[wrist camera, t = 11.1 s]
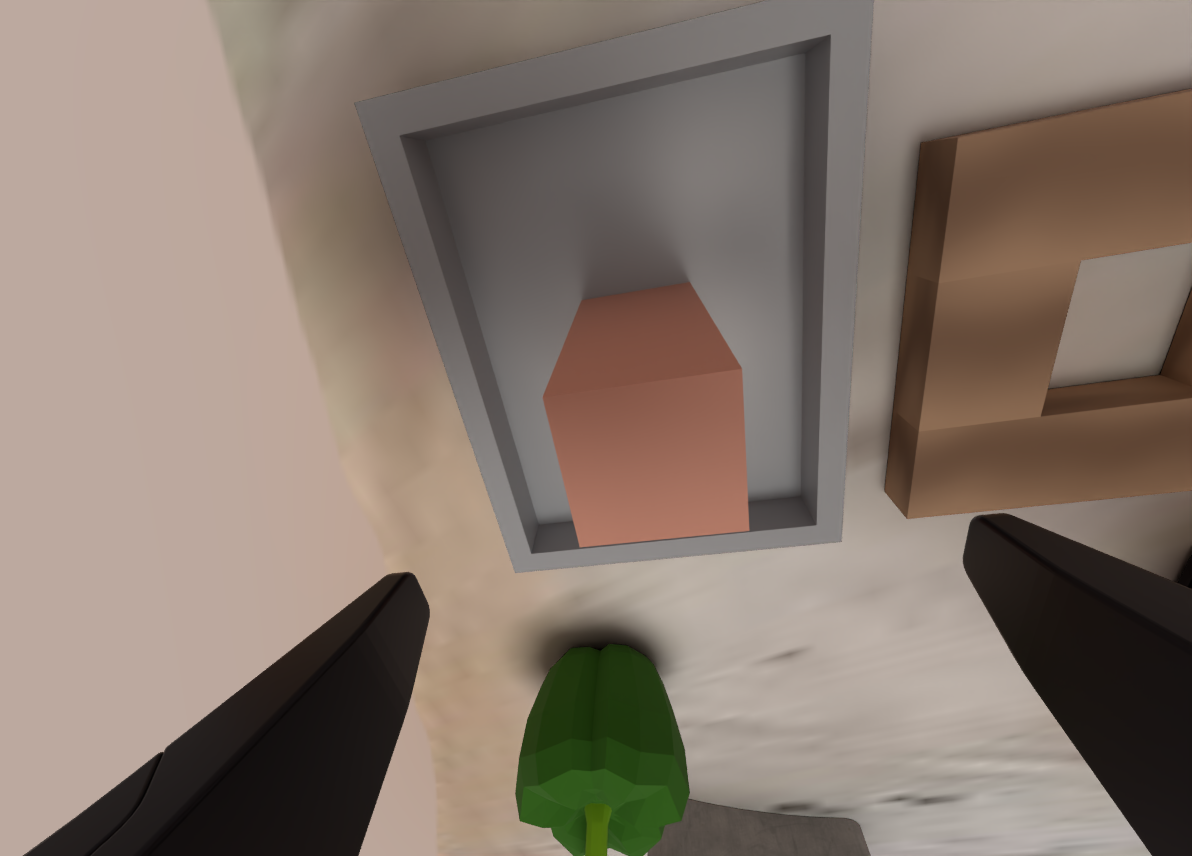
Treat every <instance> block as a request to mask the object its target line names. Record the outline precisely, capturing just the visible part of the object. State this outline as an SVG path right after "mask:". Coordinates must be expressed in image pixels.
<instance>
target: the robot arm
mask: <svg viewBox="0 0 1192 856" xmlns="http://www.w3.org/2000/svg"><path fill="white" fill-rule="evenodd" d="M963 564H964V568H965V571H966V573H967V575H968V577H969V579H970V581H971V583H972V584H973V586H974V588H975V590H976V591H977V593H978V595H979V597H980V598H981V600H982V602H983V604H984V605H985V607H986V609H987V611H988V612H989V614H990V616H991V618H992V619H993V621H994V623H995V625H996V627H997V628H998V630H999V632H1000V634H1001V635H1002V637H1003V639H1004V641H1005V642H1006V644H1007V646H1008V648H1009V649H1010V651H1011V653H1012V655H1013V656H1014V658H1015V660H1016V661H1017V663H1018V665H1019V666H1020V668H1021V670H1022V671H1023V673H1024V674H1025V676H1026V677H1027V679H1028V680H1029V682H1030V683H1031V684H1032V686H1033V687H1034V689H1035V690H1036V692H1037V693H1038V695H1039V696H1040V697H1041V699H1042V700H1043V702H1044V703H1045V705H1046V706H1047V707H1048V709H1049V710H1050V712H1051V713H1052V714H1053V716H1054V717H1055V719H1056V720H1057V722H1058V723H1059V724H1060V726H1061V727H1062V729H1063V730H1064V731H1065V733H1066V734H1067V736H1068V737H1069V739H1070V740H1071V741H1072V743H1073V744H1074V746H1075V747H1076V749H1077V750H1078V751H1079V753H1080V754H1081V756H1082V757H1083V758H1084V760H1085V761H1086V763H1087V764H1088V766H1089V767H1090V768H1091V770H1092V771H1093V773H1094V774H1095V775H1096V777H1097V778H1098V780H1099V781H1100V783H1101V784H1102V785H1103V787H1104V788H1105V790H1106V791H1107V792H1108V794H1109V795H1110V797H1111V798H1112V800H1113V801H1114V802H1115V804H1116V805H1117V807H1118V808H1119V809H1120V811H1121V812H1122V814H1123V815H1124V817H1125V818H1126V819H1127V821H1128V822H1129V824H1130V825H1131V827H1132V828H1133V829H1134V831H1135V832H1136V834H1137V835H1138V836H1139V838H1140V839H1141V841H1142V842H1143V844H1144V845H1145V846H1146V848H1147V849H1148V851H1149V852H1150V853H1151V855H1152V856H1192V555H1191V557H1190V559H1189V561H1188V563H1187V565H1186V567H1185V569H1184V572H1183V574H1182V576H1181V578H1180V580H1179V582H1178V583H1176V582H1173V581H1171V580H1169V579H1166V578H1164V577H1161V576H1159V575H1156V574H1154V573H1152V572H1149V571H1147V570H1144V569H1142V568H1139V567H1137V566H1134V565H1132V564H1130V563H1127V562H1125V561H1122V560H1120V559H1117V558H1115V557H1112V556H1110V555H1108V554H1105V553H1103V552H1100V551H1098V550H1095V549H1093V548H1090V547H1088V546H1086V545H1083V544H1081V543H1078V542H1076V541H1073V540H1071V539H1068V538H1066V537H1064V536H1061V535H1059V534H1056V533H1054V532H1051V531H1049V530H1047V529H1044V528H1042V527H1039V526H1037V525H1034V524H1032V523H1029V522H1027V521H1025V520H1022V519H1020V518H1017V517H1015V516H1012V515H1010V514H1005V513H999V514H988V515H979V516H976V517H974V518H973V519H972V520H971V522H970V525H969V530H968V535H967V539H966V544H965V549H964V554H963ZM429 617H430V609H429V605H428V602H427V600H426V598H425V596H424V594H423V591H422V589H421V587H420V585H419V583H418V581H417V579H416V577H415V575H414V574H412V573H410V572H402V573H392V574H388V575H386V576H385V577H384V578H382V579H381V580H380V581H378V582H377V583H376V584H375V585H374V586H372V587H371V588H369V589H368V590H367V591H366V592H364V593H363V594H362V595H361V596H359V597H358V598H357V599H355V600H354V601H353V602H352V603H351V604H349V605H348V606H346V607H345V608H344V609H343V610H341V611H340V612H339V613H338V614H336V615H335V616H334V617H332V618H331V619H330V620H329V621H327V622H326V623H325V624H323V625H322V626H321V627H320V628H318V629H317V630H316V631H315V632H313V633H312V634H311V635H309V636H308V637H307V638H306V639H304V640H303V641H302V642H300V643H299V644H298V645H297V646H295V647H294V648H293V649H292V650H290V651H289V652H288V653H286V654H285V655H284V656H282V657H281V658H280V659H279V660H277V661H276V662H275V663H274V664H272V665H271V666H270V667H269V668H267V669H266V670H265V671H263V672H262V673H261V674H259V675H258V676H257V677H256V678H254V679H253V680H252V681H251V682H249V683H248V684H247V685H245V686H244V687H243V688H242V689H240V690H239V691H238V692H236V693H235V694H234V695H233V696H231V697H230V698H229V699H227V700H226V701H225V702H224V703H222V704H221V705H220V706H219V707H218V708H216V709H215V710H213V711H212V712H211V713H210V714H208V715H207V716H206V717H204V718H203V719H202V720H201V721H200V722H198V723H197V724H196V725H194V726H193V727H192V728H190V729H189V730H188V731H187V732H185V733H184V734H183V735H181V736H180V737H179V738H178V739H176V740H175V741H174V742H172V743H171V744H170V745H169V746H167V747H166V749H165V751H164V752H160V753H158V754H157V755H156V756H154V757H153V758H152V759H151V760H150V761H148V762H147V763H145V764H144V765H143V766H142V767H140V768H139V769H138V770H137V771H136V772H134V773H133V774H132V775H130V776H129V777H128V778H126V779H125V780H124V781H122V782H121V783H120V784H118V785H117V786H116V787H115V788H113V789H112V790H111V791H109V792H108V793H107V794H106V795H104V796H103V797H101V798H100V799H99V800H98V801H96V802H95V803H94V804H92V805H91V806H90V807H88V808H87V809H86V810H84V811H83V812H82V813H81V814H79V815H78V816H77V817H76V818H74V819H73V820H71V821H70V822H69V823H67V824H66V825H65V826H63V827H62V828H60V829H59V830H57V831H56V832H55V833H53V834H52V835H51V836H49V837H48V838H47V839H45V840H44V841H43V842H41V843H40V844H38V845H37V846H36V847H34V848H33V849H32V850H30V851H29V852H27V853H26V854H25V855H23V856H358V855H359V852H360V849H361V846H362V843H363V840H364V837H365V834H366V831H367V828H368V825H369V822H370V819H371V817H372V814H373V811H374V808H375V805H376V801H377V799H378V796H379V793H380V790H381V787H382V784H383V781H384V778H385V775H386V772H387V769H388V766H389V763H390V760H391V757H392V754H393V751H394V748H395V745H396V742H397V739H398V736H399V733H400V730H401V728H402V725H403V722H404V718H405V715H406V712H407V709H408V706H409V702H410V698H411V695H412V691H413V687H414V682H415V678H416V674H417V669H418V665H419V661H420V657H421V652H422V648H423V644H424V640H425V635H426V631H427V627H428V622H429Z"/></svg>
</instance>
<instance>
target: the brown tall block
mask: <svg viewBox="0 0 1192 856" xmlns="http://www.w3.org/2000/svg"><path fill="white" fill-rule="evenodd" d="M542 398H543V402H544V406H545V410H546V414H547V418H548V422H549V426H550V430H551V434H552V438H553V442H554V446H555V450H556V454H557V458H558V462H559V466H560V470H561V474H562V478H563V482H564V486H565V490H566V494H567V498H568V502H569V506H570V510H571V514H572V518H573V522H574V526H575V530H576V534H577V538H578V542H579V546H580V547H589V546H599V545H610V544H620V543H630V542H640V541H651V540H661V539H671V538H681V537H691V536H702V535H712V534H722V533H732V532H743V531H749V510H748V488H747V465H746V443H745V420H744V398H743V375H742V368H741V366H740V364H739V363H738V361H737V359H736V358H735V356H734V354H733V353H732V351H731V349H730V348H729V346H728V344H727V343H726V341H725V339H724V338H723V336H722V334H721V333H720V331H719V329H718V328H717V326H716V324H715V323H714V321H713V319H712V318H711V316H710V314H709V313H708V311H707V309H706V308H705V306H704V305H703V303H702V301H701V300H700V298H699V296H698V295H697V293H696V291H695V290H694V288H693V286H692V285H691V283H690V282H687V283H681V284H675V285H669V286H663V287H657V288H651V289H645V290H640V291H634V292H628V293H622V294H616V295H610V296H604V297H598V298H592V299H586V300H581V303H580V305H579V308H578V310H577V313H576V315H575V318H574V320H573V323H572V325H571V328H570V330H569V332H568V335H567V337H566V340H565V342H564V345H563V347H562V350H561V352H560V355H559V357H558V360H557V362H556V365H555V367H554V370H553V372H552V375H551V377H550V380H549V382H548V385H547V387H546V390H545V392H544V395H543V397H542Z"/></svg>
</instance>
